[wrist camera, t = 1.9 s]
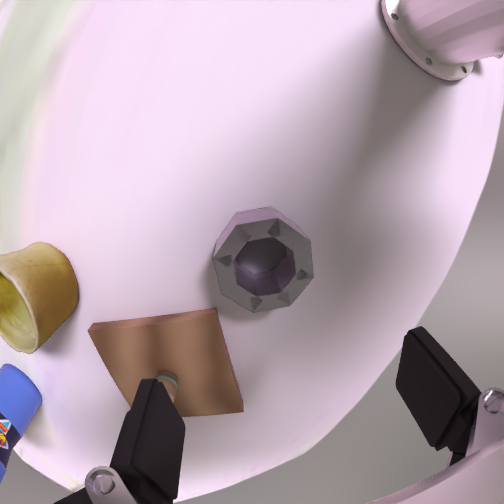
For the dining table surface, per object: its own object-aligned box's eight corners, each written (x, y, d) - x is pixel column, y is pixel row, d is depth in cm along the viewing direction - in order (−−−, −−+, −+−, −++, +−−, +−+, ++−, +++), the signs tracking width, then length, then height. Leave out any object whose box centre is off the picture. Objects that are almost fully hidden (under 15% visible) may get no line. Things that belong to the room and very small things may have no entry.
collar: (294, 202, 24) (306, 212, 19) (303, 277, 26) (315, 300, 22) (212, 217, 24) (206, 230, 19) (228, 291, 26) (227, 316, 22)
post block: (216, 307, 26) (210, 359, 19) (243, 402, 31) (245, 452, 24) (93, 323, 26) (62, 365, 19) (139, 408, 31) (126, 452, 24)
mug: (102, 275, 23) (21, 339, 14) (84, 324, 28) (28, 376, 19) (33, 192, 22) (-43, 228, 13) (26, 253, 27) (-31, 290, 18)
